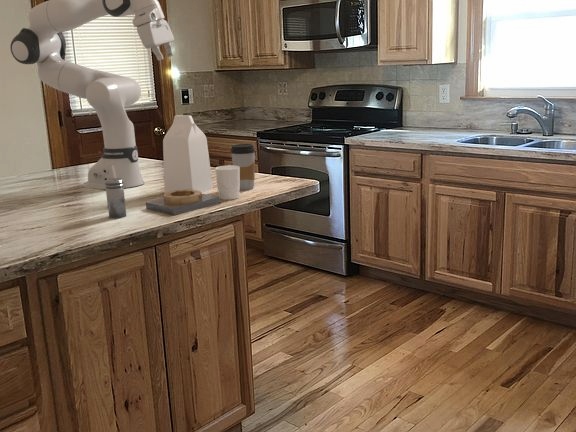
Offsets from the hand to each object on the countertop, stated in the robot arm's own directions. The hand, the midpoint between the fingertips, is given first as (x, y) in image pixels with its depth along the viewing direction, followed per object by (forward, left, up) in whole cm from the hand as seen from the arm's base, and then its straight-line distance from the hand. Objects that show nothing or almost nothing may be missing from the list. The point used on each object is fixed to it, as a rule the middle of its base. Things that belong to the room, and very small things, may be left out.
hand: (166, 58), depth 207 cm
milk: (+6, -4, -45) cm, 46 cm away
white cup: (+24, -11, -45) cm, 52 cm away
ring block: (+14, -24, -45) cm, 53 cm away
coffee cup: (+24, +3, -45) cm, 51 cm away
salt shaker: (0, -39, -45) cm, 59 cm away
